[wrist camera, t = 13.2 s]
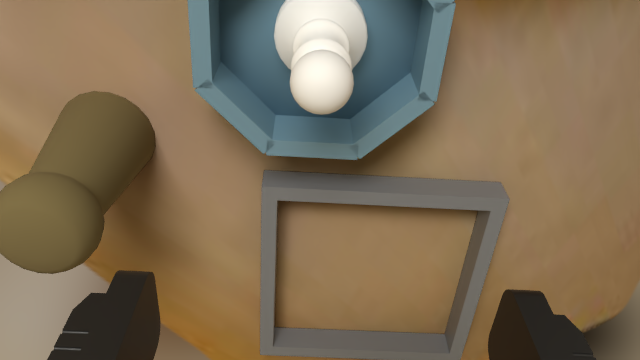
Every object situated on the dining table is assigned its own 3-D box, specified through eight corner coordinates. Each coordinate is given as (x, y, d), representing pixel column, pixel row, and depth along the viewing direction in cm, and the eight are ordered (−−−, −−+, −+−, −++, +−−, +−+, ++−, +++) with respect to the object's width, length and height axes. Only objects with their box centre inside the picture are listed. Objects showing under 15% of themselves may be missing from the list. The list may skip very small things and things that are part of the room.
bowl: (454, -95, 28) (473, -85, 25) (413, 131, 35) (424, 163, 32) (197, -114, 27) (180, -106, 24) (208, 119, 34) (197, 151, 31)
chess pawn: (304, 85, 32) (300, 164, 25) (258, 10, 30) (238, 73, 22) (380, 45, 31) (401, 116, 24) (339, -37, 29) (347, 13, 21)
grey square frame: (500, 182, 37) (509, 199, 35) (454, 342, 46) (459, 362, 44) (264, 170, 36) (261, 186, 35) (262, 335, 45) (260, 354, 43)
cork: (170, 121, 35) (117, 229, 25) (134, 189, 37) (74, 308, 28) (76, 73, 33) (-18, 170, 24) (46, 148, 36) (-49, 261, 26)
